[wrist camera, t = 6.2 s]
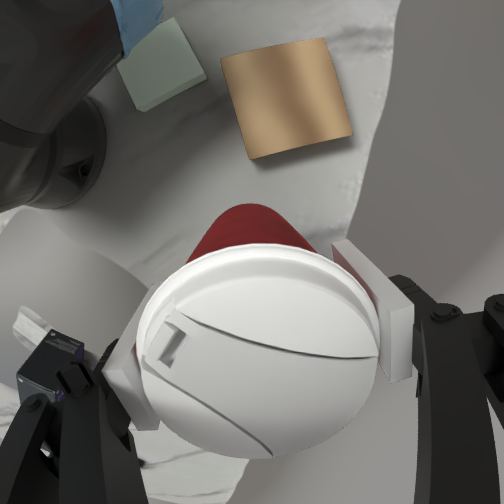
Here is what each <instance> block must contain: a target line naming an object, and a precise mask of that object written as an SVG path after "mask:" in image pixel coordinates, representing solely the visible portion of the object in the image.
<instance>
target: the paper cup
mask: <svg viewBox="0 0 504 504" xmlns="http://www.w3.org/2000/svg"><path fill="white" fill-rule="evenodd" d="M136 348H137V358H138V363H139V367H140V370H141V378H142V383H143V387H144V391H145V394H146V396H147V398H148V400H149V403H150V405H151V407H152V408H153V410H154V411H155V413H156V414H157V416H158V417H159V418H160V419H161V420H162V422H163V423H164V424H165V425H166V426H167V427H168V428H169V429H171V430H172V431H173V432H174V433H176V434H177V435H178V436H179V437H181V438H183V439H184V440H186V441H188V442H189V443H191V444H193V445H195V446H197V447H200V448H202V449H204V450H207V451H210V452H213V453H217V454H220V455H224V456H230V457H235V458H246V459H265V458H266V459H267V458H273V457H279V456H283V455H287V454H291V453H295V452H298V451H301V450H304V449H307V448H310V447H313V446H315V445H317V444H319V443H322V442H324V441H325V440H327V439H328V438H330V437H332V436H333V435H335V434H336V433H337V432H339V431H340V430H341V429H342V428H344V427H345V426H346V425H347V424H348V423H349V422H350V421H351V420H352V419H353V418H354V417H355V416H356V415H357V414H358V413H359V411H360V410H361V409H362V407H363V406H364V405H365V403H366V402H367V400H368V398H369V396H370V394H371V391H372V389H373V385H374V381H375V376H376V370H377V362H378V355H379V349H380V328H379V320H378V317H377V314H376V311H375V308H374V305H373V303H372V301H371V300H370V298H369V296H368V294H367V293H366V291H365V289H364V288H363V287H362V286H361V285H360V284H359V283H358V281H357V280H356V279H355V278H354V277H353V276H352V275H351V274H350V273H348V272H347V271H346V270H345V269H343V268H342V267H341V266H340V265H338V264H337V263H335V262H333V261H331V260H329V259H327V258H326V257H324V256H322V255H320V254H318V253H317V252H316V251H315V250H314V249H313V248H312V247H311V246H310V245H309V243H308V242H307V241H306V240H305V239H304V238H303V237H302V236H301V235H300V234H299V233H298V232H297V231H296V230H295V229H294V228H293V227H292V226H291V225H290V224H289V223H288V222H287V221H286V220H285V219H284V218H283V217H282V216H281V215H280V214H278V213H277V212H276V211H274V210H272V209H271V208H269V207H266V206H263V205H260V204H251V203H250V204H241V205H237V206H234V207H232V208H230V209H228V210H227V211H225V212H224V213H222V214H221V215H220V216H219V217H218V218H217V219H216V220H215V222H214V223H213V224H212V225H211V227H210V228H209V229H208V231H207V232H206V234H205V235H204V237H203V238H202V240H201V241H200V243H199V244H198V245H197V247H196V248H195V250H194V252H193V253H192V255H191V256H190V258H189V259H188V261H187V262H186V264H185V265H184V266H183V267H181V268H180V269H179V270H177V271H176V272H174V273H173V274H172V275H170V276H169V277H168V278H167V279H166V280H165V281H164V282H163V283H162V284H161V286H160V287H159V288H158V289H157V290H156V291H155V293H154V294H153V296H152V297H151V299H150V300H149V302H148V303H147V305H146V307H145V309H144V312H143V314H142V317H141V319H140V322H139V327H138V332H137V337H136Z"/></svg>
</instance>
